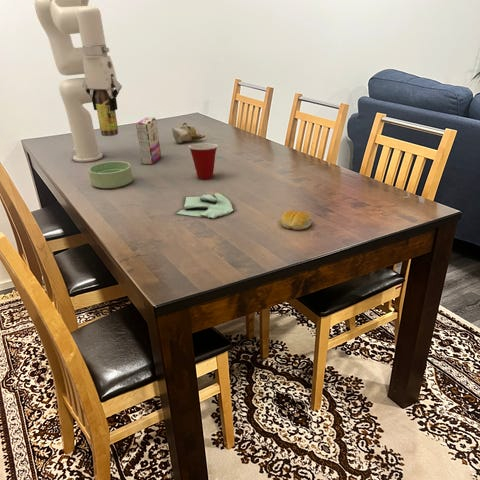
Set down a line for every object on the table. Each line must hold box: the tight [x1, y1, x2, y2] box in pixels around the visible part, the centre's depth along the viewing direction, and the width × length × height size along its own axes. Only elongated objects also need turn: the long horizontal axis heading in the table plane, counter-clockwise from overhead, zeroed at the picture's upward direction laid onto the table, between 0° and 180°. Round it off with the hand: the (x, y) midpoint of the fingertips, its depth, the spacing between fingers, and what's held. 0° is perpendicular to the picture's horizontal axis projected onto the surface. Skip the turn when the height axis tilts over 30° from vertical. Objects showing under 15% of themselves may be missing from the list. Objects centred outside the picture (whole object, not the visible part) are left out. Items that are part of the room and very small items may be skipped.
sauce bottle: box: [95, 90, 119, 137], centre depth 167 cm, size 6×6×20 cm
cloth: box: [176, 192, 235, 220], centre depth 158 cm, size 20×22×2 cm
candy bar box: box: [135, 116, 162, 165], centre depth 200 cm, size 11×5×16 cm, turn 168°
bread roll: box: [280, 210, 313, 231], centre depth 141 cm, size 8×9×4 cm
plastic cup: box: [188, 142, 219, 180], centre depth 180 cm, size 11×11×12 cm
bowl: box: [88, 160, 134, 189], centre depth 180 cm, size 15×15×6 cm
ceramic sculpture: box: [171, 122, 206, 144], centre depth 227 cm, size 11×9×15 cm
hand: (105, 109), depth 168 cm, fingers closed on sauce bottle, 6 cm apart
